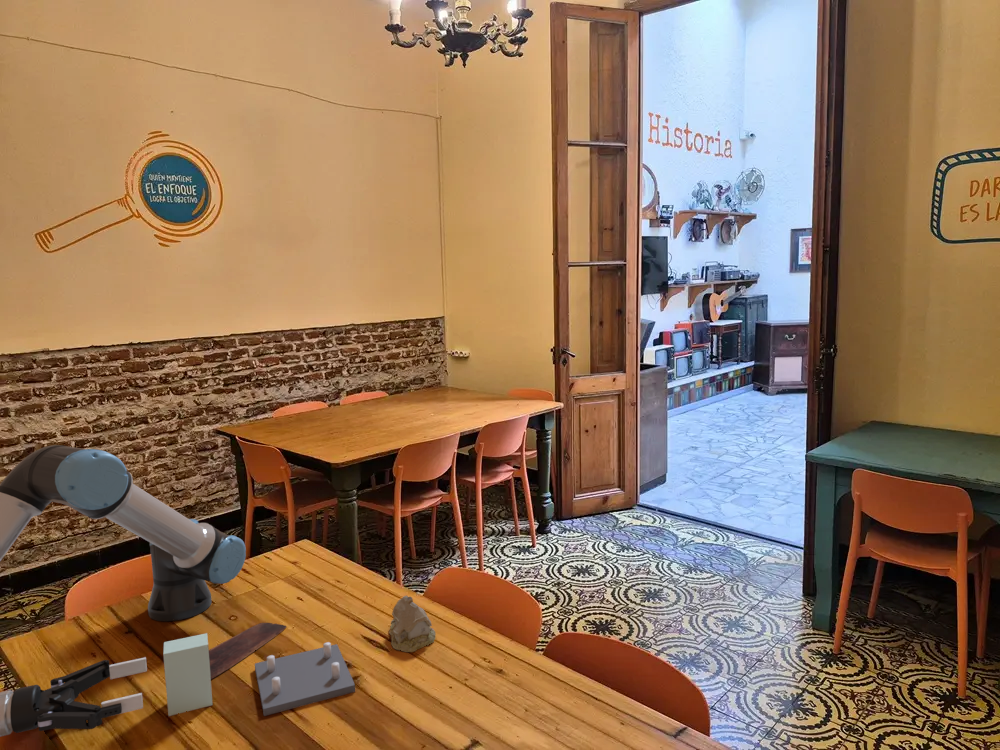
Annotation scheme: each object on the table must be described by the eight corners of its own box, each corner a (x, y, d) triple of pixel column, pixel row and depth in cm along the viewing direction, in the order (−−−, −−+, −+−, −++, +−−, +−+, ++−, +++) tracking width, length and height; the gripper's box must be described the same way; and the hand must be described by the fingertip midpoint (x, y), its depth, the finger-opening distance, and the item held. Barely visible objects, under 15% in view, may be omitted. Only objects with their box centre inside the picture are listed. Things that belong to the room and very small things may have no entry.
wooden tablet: (262, 616, 170) (291, 619, 165) (263, 624, 170) (293, 628, 166) (171, 670, 146) (203, 676, 142) (172, 680, 146) (204, 686, 142)
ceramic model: (444, 643, 157) (442, 603, 156) (399, 657, 152) (397, 615, 151) (420, 618, 170) (419, 581, 168) (378, 630, 164) (376, 591, 163)
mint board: (169, 702, 136) (164, 642, 134) (211, 691, 139) (207, 633, 138) (168, 716, 132) (163, 654, 130) (212, 705, 135) (208, 644, 133)
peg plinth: (255, 669, 147) (253, 650, 147) (337, 650, 155) (336, 631, 154) (264, 716, 131) (262, 694, 131) (355, 691, 139) (354, 671, 138)
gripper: (30, 693, 134) (149, 667, 143) (-2, 774, 112) (142, 737, 120) (26, 658, 133) (146, 634, 142) (-7, 732, 111) (138, 698, 119)
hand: (144, 681), depth 131 cm, fingers open, 13 cm apart
